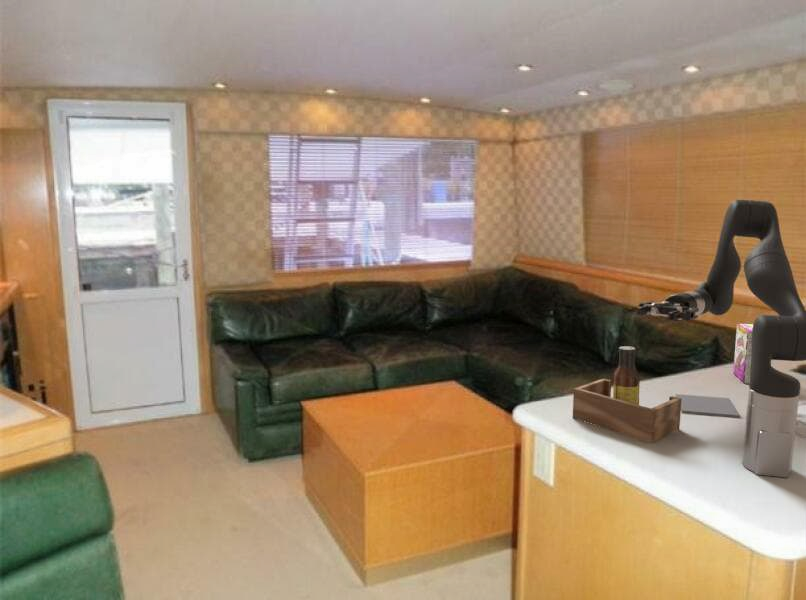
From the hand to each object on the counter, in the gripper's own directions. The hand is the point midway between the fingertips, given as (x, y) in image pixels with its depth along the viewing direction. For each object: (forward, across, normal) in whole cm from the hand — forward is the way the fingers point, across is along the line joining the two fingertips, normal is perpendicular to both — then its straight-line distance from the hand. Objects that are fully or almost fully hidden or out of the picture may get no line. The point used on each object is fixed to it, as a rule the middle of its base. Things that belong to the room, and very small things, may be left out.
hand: (653, 314), depth 166 cm
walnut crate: (+11, 0, +27) cm, 29 cm away
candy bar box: (-51, +4, +27) cm, 58 cm away
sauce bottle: (+11, 0, +27) cm, 29 cm away
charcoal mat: (-17, +8, +27) cm, 33 cm away
